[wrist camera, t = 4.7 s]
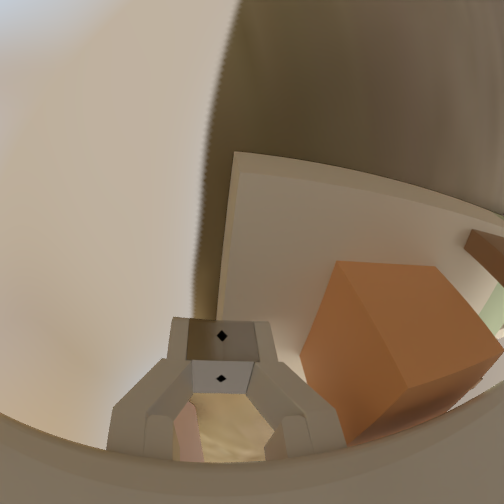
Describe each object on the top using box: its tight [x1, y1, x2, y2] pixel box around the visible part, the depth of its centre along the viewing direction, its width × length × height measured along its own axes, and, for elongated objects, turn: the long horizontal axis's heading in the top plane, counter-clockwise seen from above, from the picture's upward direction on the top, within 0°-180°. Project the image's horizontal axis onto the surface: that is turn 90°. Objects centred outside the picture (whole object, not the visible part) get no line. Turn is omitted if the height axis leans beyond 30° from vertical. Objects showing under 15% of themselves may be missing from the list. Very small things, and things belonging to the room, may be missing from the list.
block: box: [299, 261, 504, 447], centre depth 8 cm, size 5×5×5 cm
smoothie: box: [173, 401, 204, 462], centre depth 13 cm, size 6×6×14 cm
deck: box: [216, 151, 504, 390], centre depth 12 cm, size 10×30×6 cm, turn 82°
